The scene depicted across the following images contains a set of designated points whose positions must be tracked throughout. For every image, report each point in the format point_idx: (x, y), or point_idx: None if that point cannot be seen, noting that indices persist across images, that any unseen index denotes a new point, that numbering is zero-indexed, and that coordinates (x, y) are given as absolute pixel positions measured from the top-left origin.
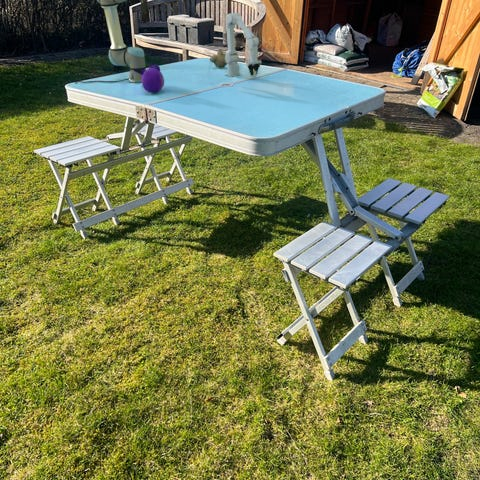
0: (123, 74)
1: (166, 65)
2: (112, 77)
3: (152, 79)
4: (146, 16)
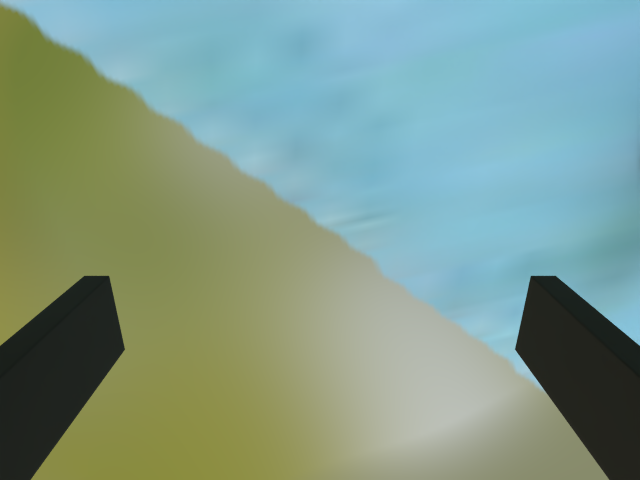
0: (445, 295)
1: (100, 65)
2: None
3: None
4: (45, 436)
